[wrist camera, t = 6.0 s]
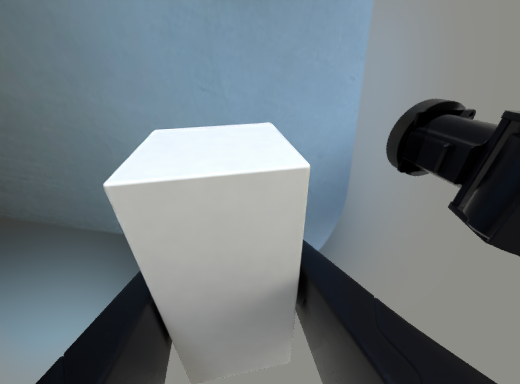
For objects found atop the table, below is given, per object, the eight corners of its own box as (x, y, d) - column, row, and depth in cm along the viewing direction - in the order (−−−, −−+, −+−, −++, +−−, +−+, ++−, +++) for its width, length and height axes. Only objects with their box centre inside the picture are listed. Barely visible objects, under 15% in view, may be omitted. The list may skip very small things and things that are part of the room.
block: (272, 282, 11) (293, 363, 8) (198, 294, 11) (191, 385, 8) (274, 121, 7) (317, 164, 4) (153, 129, 6) (99, 184, 4)
